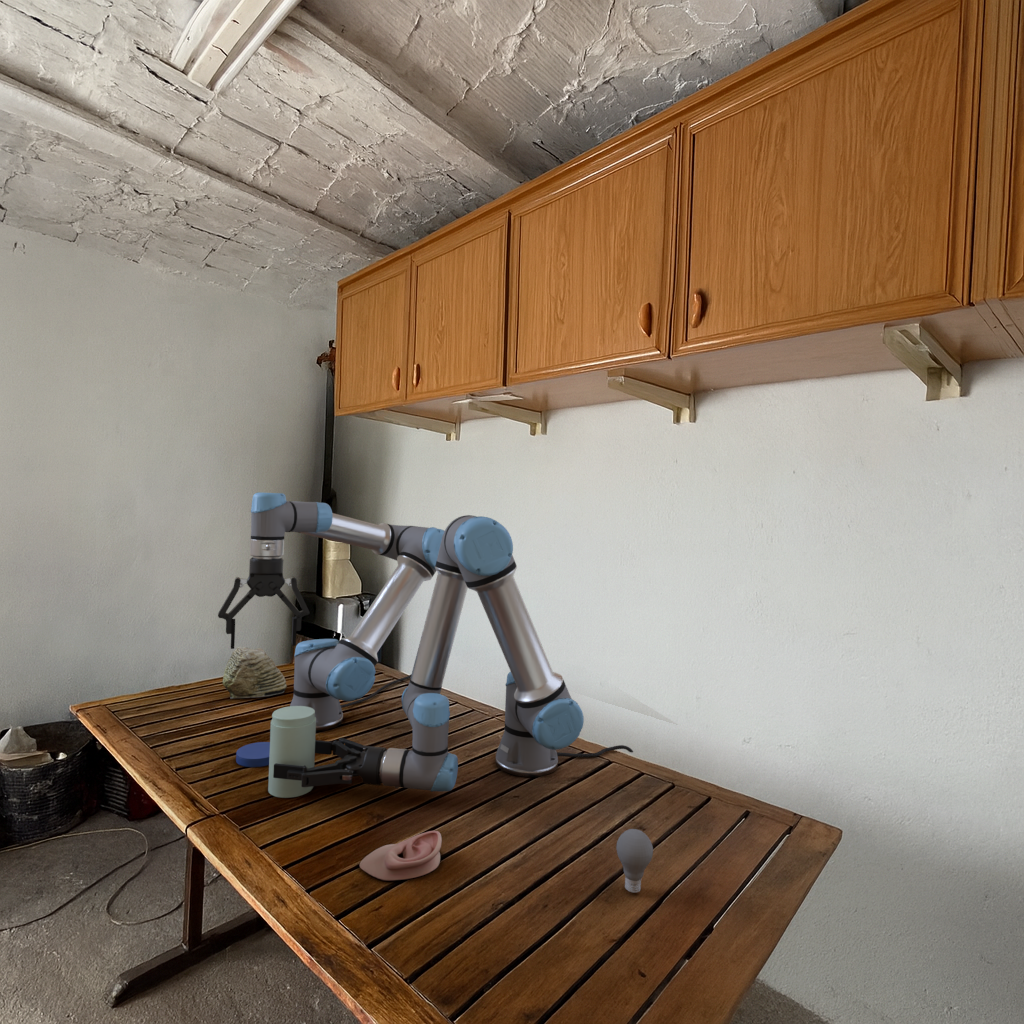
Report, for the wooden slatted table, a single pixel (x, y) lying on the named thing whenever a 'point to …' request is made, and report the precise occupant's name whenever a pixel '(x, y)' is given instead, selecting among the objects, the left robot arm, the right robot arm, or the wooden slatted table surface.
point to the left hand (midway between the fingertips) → (263, 646)
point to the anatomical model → (405, 858)
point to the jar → (291, 747)
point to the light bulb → (634, 857)
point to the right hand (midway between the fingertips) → (289, 757)
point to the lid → (254, 754)
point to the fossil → (252, 674)
